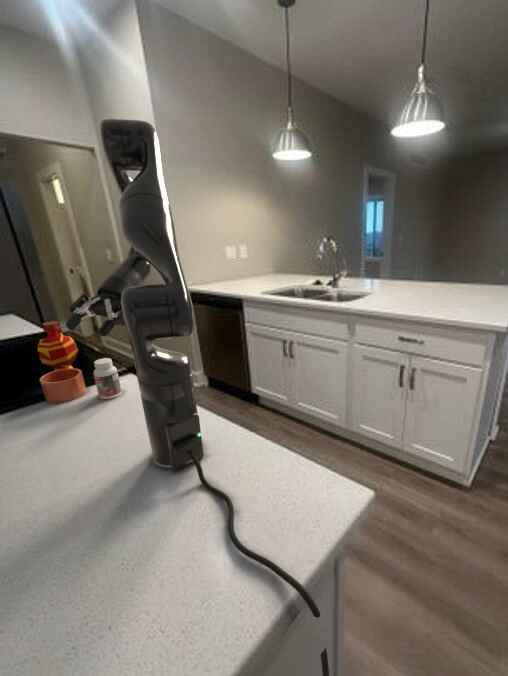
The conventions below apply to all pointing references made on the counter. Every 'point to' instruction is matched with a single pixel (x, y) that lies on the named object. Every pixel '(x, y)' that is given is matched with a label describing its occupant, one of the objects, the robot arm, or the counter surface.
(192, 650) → the counter surface
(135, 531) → the counter surface
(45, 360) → the potion bottle
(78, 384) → the pot
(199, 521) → the counter surface
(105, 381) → the pill bottle
